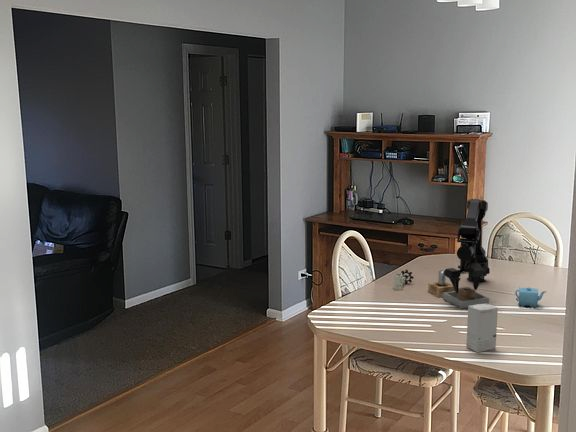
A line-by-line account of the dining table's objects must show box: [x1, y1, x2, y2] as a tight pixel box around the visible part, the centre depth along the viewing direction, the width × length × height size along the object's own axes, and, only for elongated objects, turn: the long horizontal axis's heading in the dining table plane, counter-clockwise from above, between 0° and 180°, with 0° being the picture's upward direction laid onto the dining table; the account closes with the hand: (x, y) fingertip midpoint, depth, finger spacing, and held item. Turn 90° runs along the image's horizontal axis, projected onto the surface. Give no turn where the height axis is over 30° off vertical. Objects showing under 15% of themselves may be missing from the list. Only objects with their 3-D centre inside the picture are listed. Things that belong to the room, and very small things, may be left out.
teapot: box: [514, 286, 548, 309], centre depth 258 cm, size 12×6×8 cm, turn 70°
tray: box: [442, 291, 490, 310], centre depth 263 cm, size 13×13×3 cm
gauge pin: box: [437, 269, 447, 287], centre depth 274 cm, size 3×3×10 cm
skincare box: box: [465, 303, 499, 353], centre depth 215 cm, size 8×6×15 cm
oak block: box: [427, 281, 455, 298], centre depth 274 cm, size 8×8×4 cm
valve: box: [393, 269, 414, 291], centre depth 285 cm, size 7×7×12 cm
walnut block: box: [457, 286, 476, 301], centre depth 263 cm, size 5×5×5 cm
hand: (466, 291), depth 262 cm, fingers open, 9 cm apart
